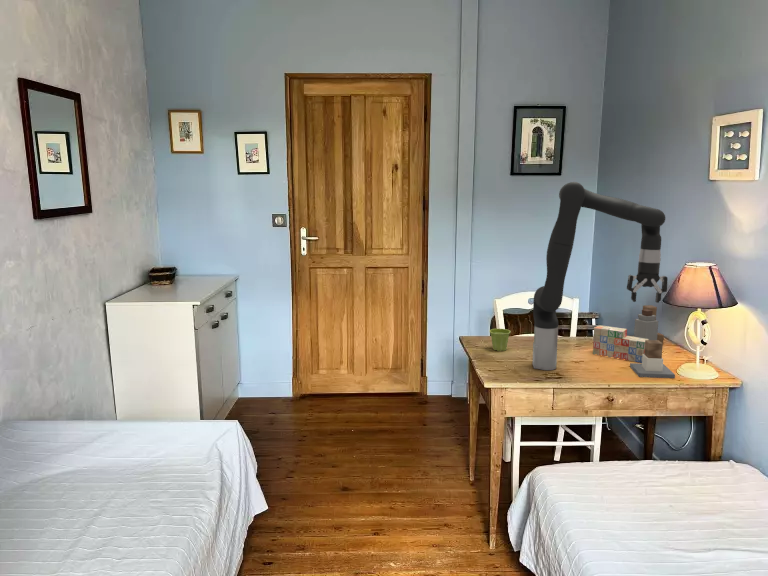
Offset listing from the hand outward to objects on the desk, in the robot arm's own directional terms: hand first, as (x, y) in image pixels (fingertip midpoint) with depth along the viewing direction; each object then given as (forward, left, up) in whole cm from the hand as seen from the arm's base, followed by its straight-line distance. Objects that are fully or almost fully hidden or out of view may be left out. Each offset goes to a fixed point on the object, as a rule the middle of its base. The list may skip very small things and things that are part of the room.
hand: (645, 301), depth 222 cm
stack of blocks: (-3, +19, -29) cm, 35 cm away
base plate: (+4, -1, -28) cm, 28 cm away
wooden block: (+17, +43, -28) cm, 54 cm away
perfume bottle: (+11, +33, -28) cm, 45 cm away
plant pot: (-54, +25, -28) cm, 66 cm away
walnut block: (+4, -1, -22) cm, 22 cm away
